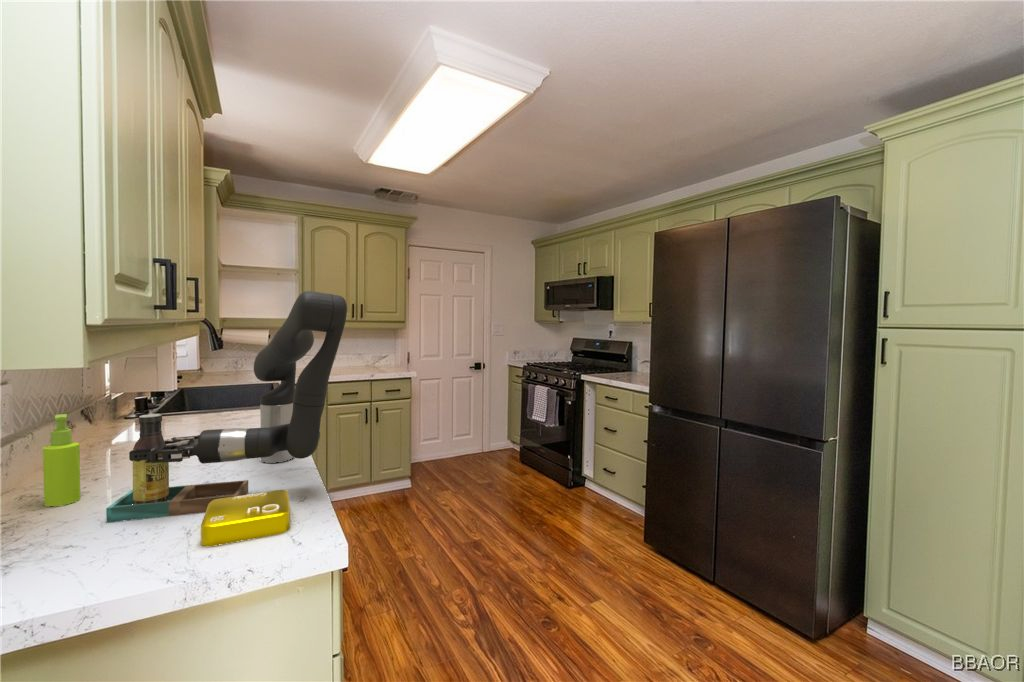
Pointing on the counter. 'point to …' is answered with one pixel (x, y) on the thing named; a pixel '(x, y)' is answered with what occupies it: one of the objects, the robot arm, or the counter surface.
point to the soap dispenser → (61, 466)
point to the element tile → (245, 517)
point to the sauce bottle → (150, 464)
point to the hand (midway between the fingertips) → (137, 451)
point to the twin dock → (175, 501)
